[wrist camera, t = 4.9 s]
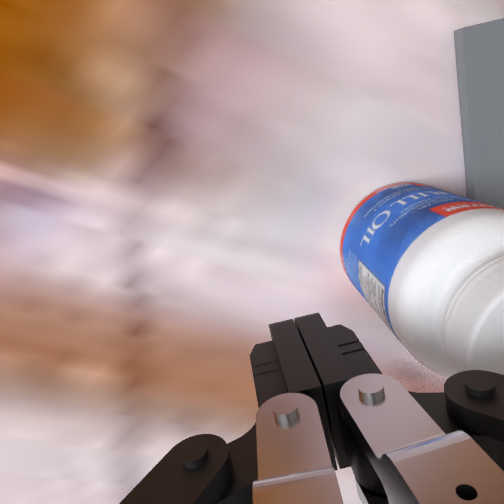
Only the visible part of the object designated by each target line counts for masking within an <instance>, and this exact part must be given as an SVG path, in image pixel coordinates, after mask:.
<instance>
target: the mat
mask: <svg viewBox="0 0 504 504" xmlns="http://www.w3.org/2000/svg"><path fill="white" fill-rule="evenodd" d="M454 39H455V51H456V63H457V76H458V88H459V100H460V113H461V125H462V137H463V150H464V162H465V174H466V186H467V198H469V199H472V200H476V201H479V202H481V203H485V204H488V205H491V206H494V207H497V208H502V209H504V18H503V19H499V20H494V21H490V22H486V23H482V24H477V25H473V26H469V27H464V28H461V29H458V30H456V31H454Z"/></svg>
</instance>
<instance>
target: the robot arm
mask: <svg viewBox="0 0 504 504" xmlns="http://www.w3.org/2000/svg"><path fill="white" fill-rule="evenodd" d="M294 321H295V323H294ZM294 321H293V319H290V320H285V321H281V322H277V323H273V324H269V328H270V333H271V337H272V341H269V342H265V343H261V344H256V345H255V346H254V348H253V350H252V352H251V354H250V360H251V365H252V371H253V377H254V383H255V389H256V395H257V400H258V406H259V409H258V411H257V414H256V423H255V425H254V426H253V427H252V428H251V429H250V430H249V431H248V432H247V433H246V434H244V435H243V436H241V437H240V438H238V439H236V440H234V441H232V442H230V443H228V444H226V442H225V441H224V440H223V439H222V438H221V437H219V436H216V435H212V434H200V435H195V436H192V437H189V438H187V439H185V440H183V441H181V442H180V443H178V444H177V445H176V446H174V447H173V448H172V449H171V450H170V451H169V452H168V453H167V454H166V455H165V456H164V457H163V458H162V460H161V461H160V462H159V463H158V464H157V465H156V466H155V467H154V468H153V469H152V470H151V471H150V472H149V473H148V474H147V475H146V476H145V477H144V478H143V479H142V480H141V482H140V483H139V484H138V485H137V486H136V487H135V488H134V489H133V490H132V491H131V492H130V493H129V494H128V495H127V496H126V497H125V498H124V499H123V500H122V501H121V502H120V503H119V504H343V500H342V496H341V493H340V489H339V485H338V481H337V477H336V473H335V470H337V465H336V460H335V457H336V459H337V462H338V465H339V467H340V469H342V468H346V467H350V466H351V468H352V470H353V473H354V475H355V480H356V486H357V491H358V495H359V498H360V500H361V502H362V504H504V375H502V374H498V373H494V372H490V371H484V370H468V371H462V372H459V373H456V374H454V375H452V376H451V377H449V378H448V379H447V380H446V382H445V385H444V393H416V392H409V391H407V390H406V389H405V388H404V387H403V386H402V384H401V383H400V382H399V381H397V380H396V379H394V378H392V377H390V376H387V375H383V374H382V373H381V371H380V370H379V368H378V367H377V366H376V364H375V363H374V361H373V360H372V358H371V357H370V355H369V354H368V352H367V351H366V350H365V349H364V347H363V345H362V344H361V342H359V339H358V338H357V336H356V335H355V333H354V332H353V331H352V330H350V329H348V328H346V327H344V326H342V325H336V326H332V327H327V326H326V325H325V323H324V321H323V319H322V318H321V316H320V314H319V313H315V314H310V315H306V316H302V317H298V318H294ZM334 454H335V455H334Z"/></svg>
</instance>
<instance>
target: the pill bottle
mask: <svg viewBox="0 0 504 504" xmlns="http://www.w3.org/2000/svg"><path fill="white" fill-rule="evenodd" d="M339 248H340V257H341V262H342V265H343V268H344V270H345V272H346V274H347V276H348V278H349V279H350V281H351V282H352V284H353V285H354V286H355V287H356V289H357V290H358V291H359V292H360V293H361V295H362V296H363V297H364V298H365V299H366V301H367V302H368V303H369V304H370V306H371V307H372V308H373V309H374V310H375V312H376V313H377V314H378V315H379V317H380V318H381V319H382V320H383V321H384V323H385V324H386V325H387V326H388V328H389V329H390V330H391V331H392V332H393V334H394V335H395V336H396V337H397V339H398V340H399V341H400V342H401V343H402V344H403V346H404V347H405V348H406V349H407V350H408V351H409V352H410V353H411V355H412V356H413V357H414V358H415V359H416V360H417V361H419V362H420V363H421V364H422V365H424V366H425V367H427V368H428V369H430V370H432V371H434V372H436V373H438V374H440V375H443V376H446V377H451V376H452V375H454V374H456V373H459V372H462V371H468V370H484V371H490V372H494V373H498V374H502V375H504V209H502V208H497V207H494V206H491V205H488V204H485V203H481V202H479V201H476V200H472V199H469V198H465V197H462V196H458V195H456V194H452V193H449V192H446V191H443V190H440V189H436V188H433V187H430V186H427V185H423V184H418V183H409V182H402V183H394V184H389V185H385V186H383V187H380V188H378V189H376V190H374V191H372V192H370V193H369V194H367V195H366V196H365V197H363V198H362V199H361V200H360V201H359V202H358V203H357V204H356V205H355V206H354V207H353V209H352V210H351V212H350V213H349V215H348V217H347V218H346V220H345V223H344V225H343V228H342V231H341V235H340V244H339Z"/></svg>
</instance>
